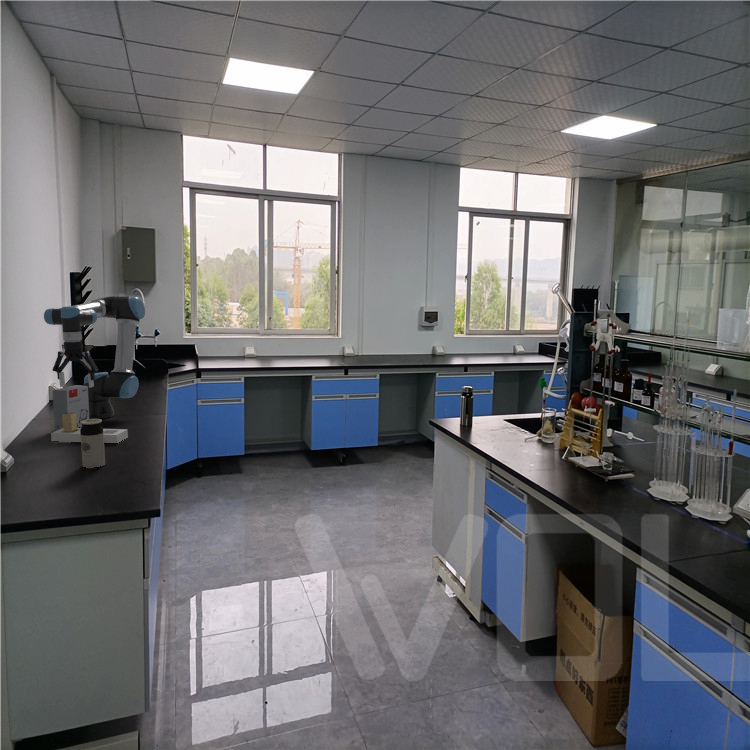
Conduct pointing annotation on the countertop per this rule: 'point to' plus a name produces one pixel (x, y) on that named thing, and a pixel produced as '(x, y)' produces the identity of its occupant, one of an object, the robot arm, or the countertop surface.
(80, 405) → the hard drive box
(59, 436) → the white compartment tray
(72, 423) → the wooden block
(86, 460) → the travel mug
